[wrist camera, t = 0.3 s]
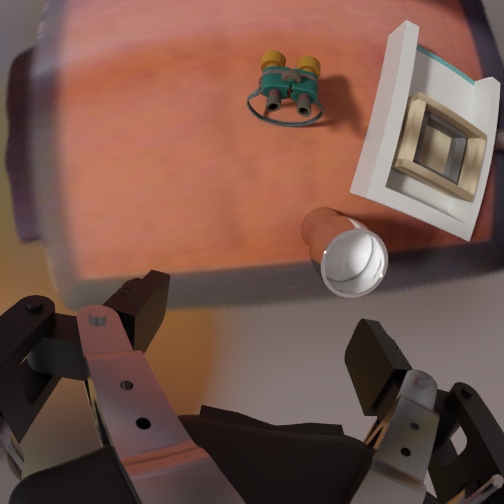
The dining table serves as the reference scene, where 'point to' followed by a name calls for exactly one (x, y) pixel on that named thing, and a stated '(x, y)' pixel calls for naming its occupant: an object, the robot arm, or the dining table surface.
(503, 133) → the handle peg
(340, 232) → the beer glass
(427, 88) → the bay
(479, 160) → the box
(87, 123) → the dining table surface
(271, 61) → the binoculars
